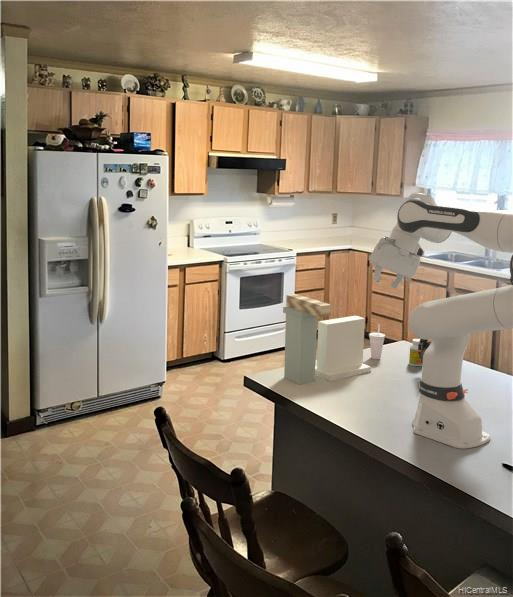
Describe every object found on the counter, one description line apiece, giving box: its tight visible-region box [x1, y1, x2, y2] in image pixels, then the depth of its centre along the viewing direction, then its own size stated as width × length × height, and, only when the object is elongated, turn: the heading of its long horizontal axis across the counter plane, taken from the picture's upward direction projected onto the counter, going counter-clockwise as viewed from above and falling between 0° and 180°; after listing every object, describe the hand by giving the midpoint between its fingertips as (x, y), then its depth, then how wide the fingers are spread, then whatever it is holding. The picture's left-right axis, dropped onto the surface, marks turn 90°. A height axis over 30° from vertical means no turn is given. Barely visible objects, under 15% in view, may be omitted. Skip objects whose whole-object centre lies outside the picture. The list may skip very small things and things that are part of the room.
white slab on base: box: [315, 315, 372, 382], centre depth 237 cm, size 12×20×20 cm, turn 123°
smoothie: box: [368, 323, 386, 360], centre depth 255 cm, size 6×6×14 cm
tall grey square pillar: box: [282, 306, 319, 385], centre depth 227 cm, size 11×8×26 cm
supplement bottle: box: [408, 338, 422, 367], centre depth 249 cm, size 5×5×10 cm
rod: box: [285, 293, 332, 319], centre depth 221 cm, size 20×4×4 cm, turn 33°
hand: (384, 284), depth 200 cm, fingers open, 8 cm apart
